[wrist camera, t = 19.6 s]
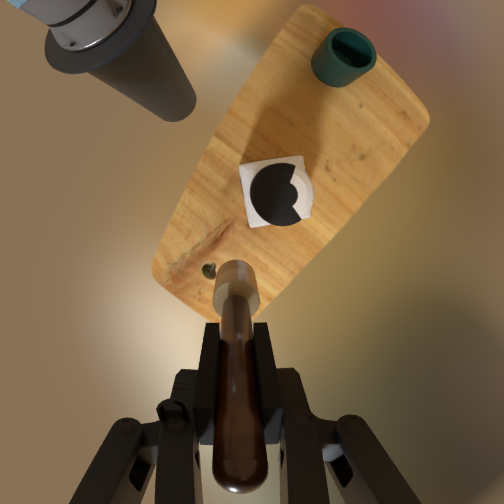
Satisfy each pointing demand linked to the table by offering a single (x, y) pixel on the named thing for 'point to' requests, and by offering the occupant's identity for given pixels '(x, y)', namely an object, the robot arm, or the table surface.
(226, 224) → the table surface
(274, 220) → the container
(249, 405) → the brush
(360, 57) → the cup
